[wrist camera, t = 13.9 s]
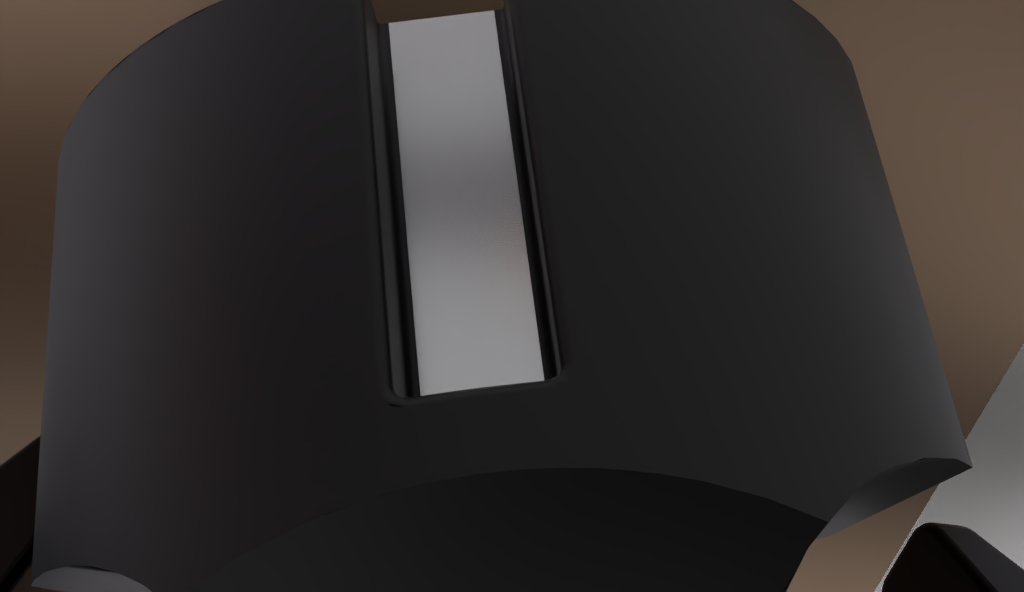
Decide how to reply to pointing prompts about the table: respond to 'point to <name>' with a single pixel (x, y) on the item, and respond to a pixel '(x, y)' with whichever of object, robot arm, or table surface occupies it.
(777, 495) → the power plug
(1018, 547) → the table surface
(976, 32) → the walnut pad
